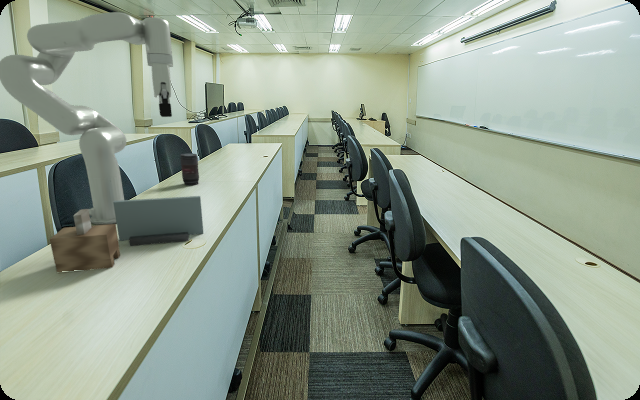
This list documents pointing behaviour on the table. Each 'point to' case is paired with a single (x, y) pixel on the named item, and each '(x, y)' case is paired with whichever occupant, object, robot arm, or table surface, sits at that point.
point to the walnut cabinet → (85, 245)
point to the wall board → (158, 216)
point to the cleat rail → (158, 238)
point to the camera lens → (189, 169)
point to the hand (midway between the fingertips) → (165, 116)
